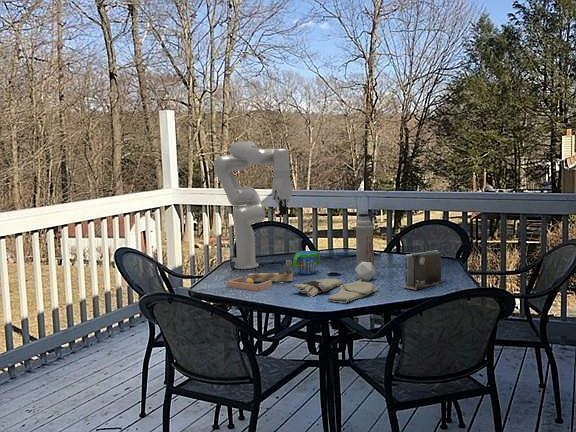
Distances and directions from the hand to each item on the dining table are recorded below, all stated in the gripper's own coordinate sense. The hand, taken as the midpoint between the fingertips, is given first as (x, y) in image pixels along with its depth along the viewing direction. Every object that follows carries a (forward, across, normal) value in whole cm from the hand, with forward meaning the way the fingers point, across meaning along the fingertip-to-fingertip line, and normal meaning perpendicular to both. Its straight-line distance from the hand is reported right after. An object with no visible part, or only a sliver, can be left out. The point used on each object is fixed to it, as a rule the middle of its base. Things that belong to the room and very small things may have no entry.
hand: (283, 214), depth 267 cm
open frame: (+29, +25, -2) cm, 38 cm away
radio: (+29, -10, +64) cm, 71 cm away
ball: (+27, +27, -2) cm, 38 cm away
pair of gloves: (+30, +18, +38) cm, 51 cm away
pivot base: (+29, +12, +6) cm, 32 cm away
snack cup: (+29, -8, +7) cm, 31 cm away
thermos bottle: (+29, -20, +32) cm, 48 cm away
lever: (+28, +14, +2) cm, 32 cm away
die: (+29, -8, +38) cm, 49 cm away
